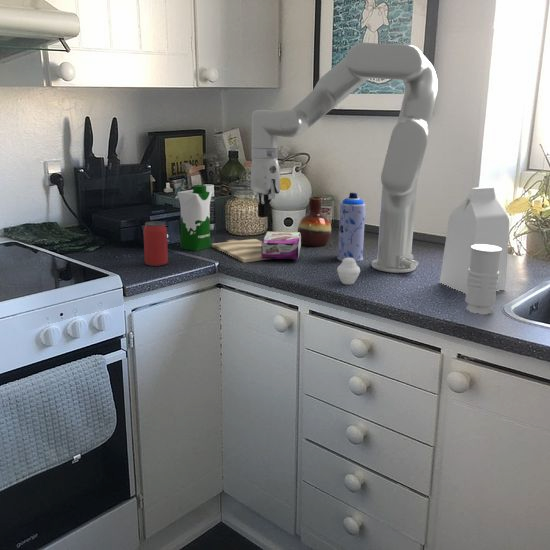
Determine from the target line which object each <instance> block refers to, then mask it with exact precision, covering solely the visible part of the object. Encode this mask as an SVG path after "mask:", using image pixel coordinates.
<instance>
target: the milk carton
mask: <svg viewBox="0 0 550 550" xmlns="http://www.w3.org/2000/svg"><path fill="white" fill-rule="evenodd" d="M212 194H213V192H212V191H209V190H207V186H206V185H205V184H195V185H193V186H192V189H190V190H189V189H188V190H184V191H183V190H182V191H177V196H178V200H179V204H180V243H179V245H180V247H179V248H180V249H183V250H190V251H193V252H198V251H202V250H206V249H209V248H212V239H211V217H210V215H211V214H210V213H211V211H210V209H211V201H212V200H211V199H212Z"/></svg>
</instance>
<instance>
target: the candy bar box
mask: <svg viewBox="0 0 550 550" xmlns="http://www.w3.org/2000/svg"><path fill="white" fill-rule="evenodd" d="M261 241H262V243H261V247H262V258H271V259H270V260H273V259H276V260H277V259H279V260H280V259H283V260H288V259H289V260H299V258H300V254H301V253H300V252H301V247H302V246H301V245H302V243H301V232H298V231H268V230H267V231H266V232H265V234H264V237H263V240H261Z"/></svg>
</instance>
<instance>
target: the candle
mask: <svg viewBox="0 0 550 550" xmlns="http://www.w3.org/2000/svg"><path fill="white" fill-rule="evenodd" d="M471 249H472V252H471V261H470V268H469V269H468V275H467V277H468V279H467V282H468V283H467V285H466V287H467V293H466V294H465V299H464V301H465V303H467V306H466V308H465V310H466V309H467V310H469V311H470V312H469V311H468V312H469V313H472V312H473V313H472V314H476V313H479V314H478V315H489V314H488V313H490V314H492V313H493V309H492V307H493V306H495V305H496V297H497V295H496V294H497V292H496V290H497V285H498V280H499V277H498V276H499V271H498V268H499V260H500V252H501V251H502V248H500V247H498V246H494V245H486V244H476V245H472V246H471ZM467 310H466V311H467Z"/></svg>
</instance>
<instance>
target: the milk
mask: <svg viewBox="0 0 550 550" xmlns="http://www.w3.org/2000/svg"><path fill="white" fill-rule="evenodd" d="M509 236H510V218H509V216H508V214H507V212H506V211H505V210H504V208H503V207H502V206H501V204H500V202H499V201H498V199H497V198H496V193H495V189H494V187H491V186H483V187H472V188H471V189H470V191H469V193H468V194H467V196H466V199H465V200H464V201H462V202H461V203H460V204H459V205H458V206H457V207H455V208H454V210H452V212H450V214H449V218H448V222H447V230H446V237H445V244H444V249H443V256H442V261H441V262H442V263H441V271H440V276H439V284H441V283H442V284H441V285H443V284H444V285H443V286H445V285H447V286H446V287H448V286H449V287H448V288H450V287H451V288H450V289H452V288H453V289H452V290H454V289H456V290H455V291H457V290H458V291H457V292H459V291H461V292H463V293H462V294H464V293H465V294H464V295H466V293H467V287H466V285H467V283H468V282H467V279H468V277H467V275H468V269H469V268H470V261H471V252H472V249H471V246H472V245H476V244H486V245H494V246H498V247H500V248H502V251H501V252H500V260H499V268H498V271H499V276H498V277H499V280H498V285H497V290H504V289H505V290H506V285H507V270H508V253H509V239H510V237H509ZM497 290H496V291H497ZM461 292H460V293H461Z"/></svg>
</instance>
